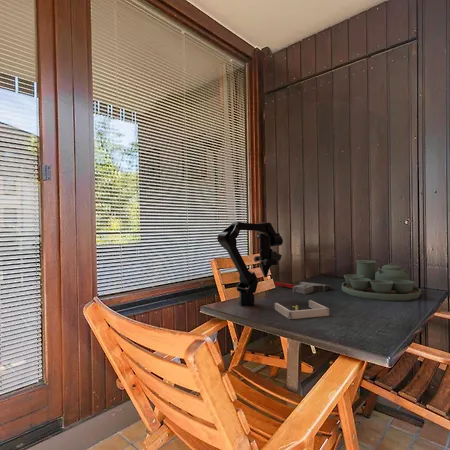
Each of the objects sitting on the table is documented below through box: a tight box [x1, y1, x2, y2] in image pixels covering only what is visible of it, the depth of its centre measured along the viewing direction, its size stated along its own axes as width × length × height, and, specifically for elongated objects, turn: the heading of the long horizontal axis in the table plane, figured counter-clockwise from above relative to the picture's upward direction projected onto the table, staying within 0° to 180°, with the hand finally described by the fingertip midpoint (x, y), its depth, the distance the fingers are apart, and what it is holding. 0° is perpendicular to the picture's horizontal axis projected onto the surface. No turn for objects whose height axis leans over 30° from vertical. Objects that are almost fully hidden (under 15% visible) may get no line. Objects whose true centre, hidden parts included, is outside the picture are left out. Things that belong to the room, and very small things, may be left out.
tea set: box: [341, 259, 422, 302], centre depth 173 cm, size 40×40×16 cm
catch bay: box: [274, 299, 330, 320], centre depth 136 cm, size 18×15×3 cm
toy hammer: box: [274, 281, 332, 295], centre depth 186 cm, size 24×4×30 cm
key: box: [291, 304, 299, 311], centre depth 135 cm, size 7×12×2 cm, turn 5°
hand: (265, 277), depth 158 cm, fingers closed
